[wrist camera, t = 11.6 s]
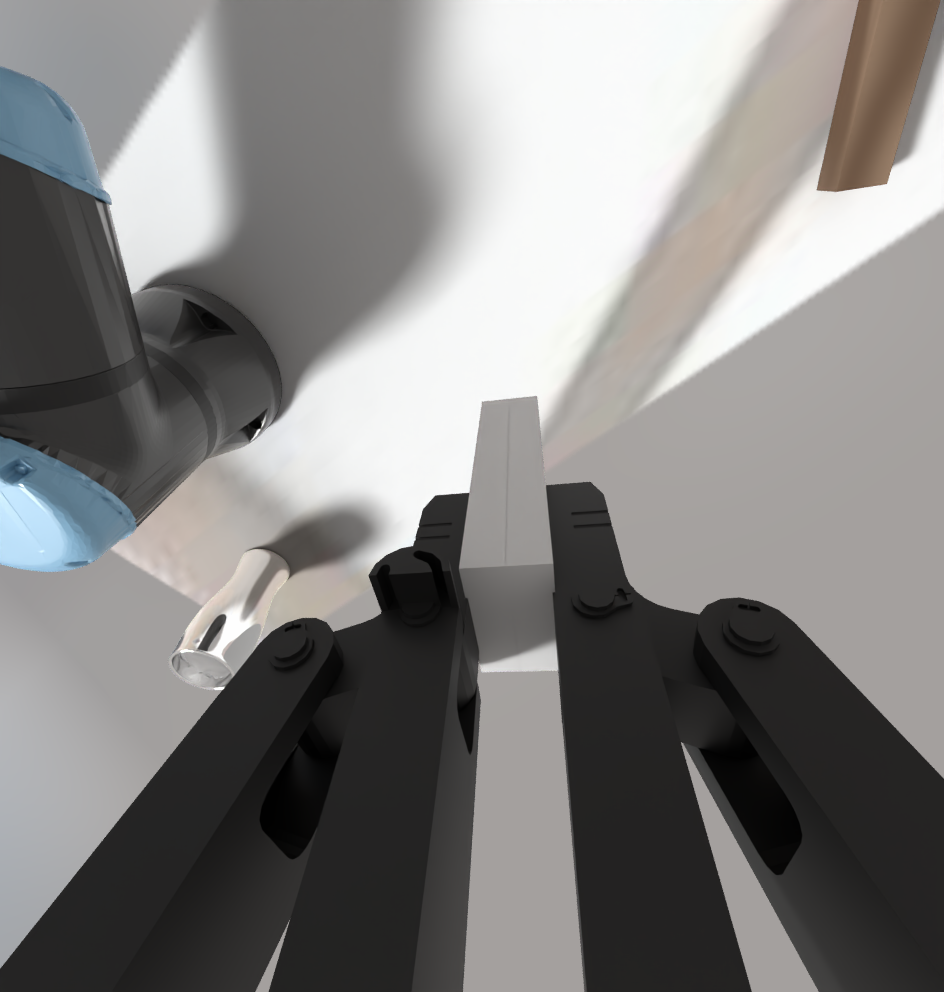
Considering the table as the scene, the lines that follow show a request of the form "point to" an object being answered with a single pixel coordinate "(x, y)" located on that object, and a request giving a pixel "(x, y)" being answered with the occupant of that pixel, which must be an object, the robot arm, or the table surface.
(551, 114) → the table surface
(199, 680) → the beer glass
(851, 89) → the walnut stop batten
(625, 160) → the table surface
